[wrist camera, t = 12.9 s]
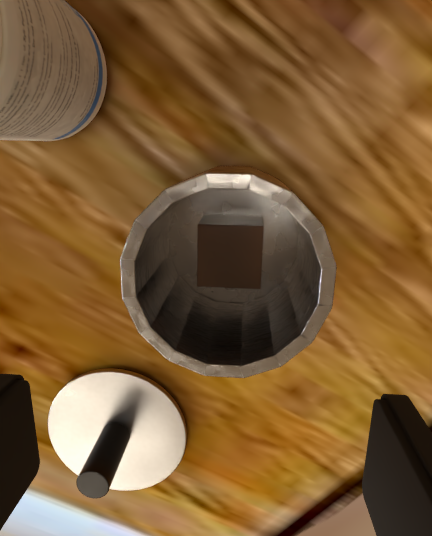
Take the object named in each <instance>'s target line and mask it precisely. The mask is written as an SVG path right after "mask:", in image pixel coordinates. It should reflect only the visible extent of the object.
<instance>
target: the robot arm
mask: <svg viewBox="0 0 432 536" xmlns="http://www.w3.org/2000/svg"><path fill="white" fill-rule="evenodd" d="M39 464H40V459H39V451H38V444H37V437H36V429H35V422H34V415H33V407H32V400H31V393H30V386H29V383H28V381H25V380H24V378H23V377H22V376H21V375H14V374H0V530H1V528H2V527H3V525H4V524H5V522H6V521H7V519H8V518H9V516H10V514H11V513H12V511H13V510H14V508H15V507H16V505H17V504H18V502H19V501H20V499H21V498H22V496H23V494H24V493H25V491H26V490H27V488H28V487H29V485H30V484H31V482H32V481H33V479H34V478H35V476H36V474H37V472H38V469H39ZM362 489H363V496H364V500H365V502H366V505H367V508H368V511H369V514H370V517H371V520H372V523H373V526H374V529H375V532H376V535H377V536H432V432H431V431H430V429H429V428H428V426H427V425H426V423H425V422H424V420H423V419H422V417H421V416H420V414H419V412H418V411H417V409H416V408H415V406H414V405H413V403H412V402H411V400H410V399H409V397H408V396H406V395H394V394H383V395H382V397H381V400H380V399H376V400H375V401H374V404H373V411H372V418H371V425H370V432H369V439H368V446H367V453H366V460H365V467H364V475H363V482H362Z"/></svg>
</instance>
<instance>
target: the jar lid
mask: <svg viewBox="0 0 432 536" xmlns="http://www.w3.org/2000/svg"><path fill="white" fill-rule="evenodd" d="M48 431H49V436H50V440H51V443H52V445H53V447H54V449H55V451H56V453H57V454H58V456H59V457H60V459H61V460H62V461H63V462H64V464H65V465H66V466H67V467H68V468H69V469H70V470H71V471H73V472H74V473H75V474H77V475H78V478H77V487H78V489H79V491H80V492H81V493H82V494H83V495H85V496H87V497H90V498H101V497H103V496H105V495H106V494H107V493H108V491H109V489H112V490H121V491H130V490H139V489H144V488H147V487H150V486H153V485H155V484H157V483H159V482H161V481H162V480H164V479H166V478H167V477H168V476H169V475H170V474H171V473H172V472H173V471H174V470H175V469H176V468H177V466H178V465H179V463H180V461H181V460H182V457H183V455H184V451H185V447H186V442H187V429H186V423H185V419H184V417H183V414H182V411H181V410H180V408H179V406H178V404H177V403H176V401H175V400H174V399H173V397H172V396H171V395H170V394H169V393H168V392H167V391H166V390H165V389H164V388H162V387H161V386H160V385H159V384H157V383H156V382H154V381H153V380H151V379H149V378H147V377H145V376H143V375H141V374H138V373H135V372H132V371H128V370H123V369H98V370H93V371H89V372H86V373H84V374H81V375H79V376H77V377H75V378H74V379H72V380H71V381H69V382H68V383H67V384H66V385H65V386H64V387H63V388H62V389H61V390H60V391H59V393H58V394H57V396H56V397H55V399H54V400H53V403H52V405H51V407H50V411H49V416H48Z"/></svg>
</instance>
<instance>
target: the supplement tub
mask: <svg viewBox="0 0 432 536" xmlns="http://www.w3.org/2000/svg"><path fill="white" fill-rule="evenodd" d="M106 85H107V67H106V61H105V56H104V53H103V50H102V47H101V44H100V42H99V40H98V38H97V36H96V34H95V32H94V30H93V29H92V27H91V26H90V24H89V23H88V22H87V21H86V19H85V18H84V17H83V16H82V15H81V14H80V13H79V12H78V11H76V10H75V9H74V8H73V7H71V6H70V5H69V4H68V3H67V2H66V1H65V0H0V140H26V141H56V140H61V139H65V138H68V137H70V136H72V135H74V134H76V133H78V132H79V131H81V130H82V129H84V128H85V127H86V126H87V125H88V124H89V123H90V122H91V121H92V120H93V118H94V117H95V116H96V114H97V113H98V111H99V109H100V107H101V104H102V102H103V99H104V96H105V91H106Z"/></svg>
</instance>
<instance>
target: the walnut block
mask: <svg viewBox="0 0 432 536" xmlns="http://www.w3.org/2000/svg"><path fill="white" fill-rule="evenodd" d="M263 233H264V225H263V221H262V216H249V215H215V214H204V216H203V217H202V219H201V220H200V222H199V223H198V225H197V286H198V287H221V288H245V289H261V271H262V252H263Z"/></svg>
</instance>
